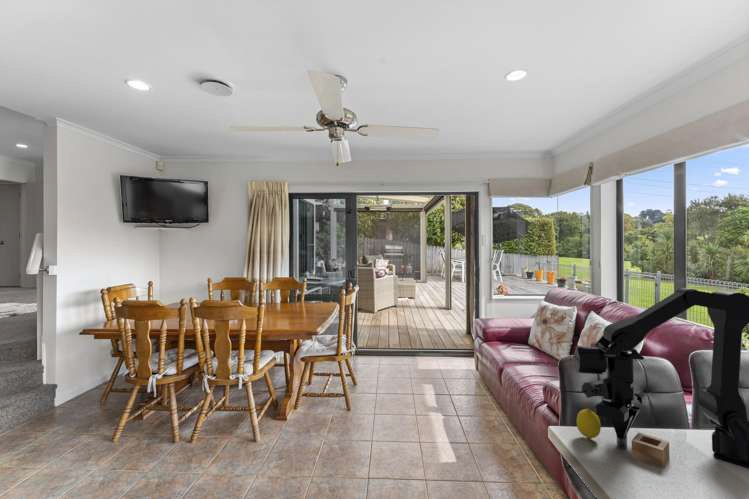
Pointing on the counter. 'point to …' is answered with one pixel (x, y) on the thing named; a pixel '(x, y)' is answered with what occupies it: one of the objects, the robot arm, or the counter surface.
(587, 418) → the lemon
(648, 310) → the robot arm
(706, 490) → the counter surface
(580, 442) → the counter surface
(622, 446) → the peg
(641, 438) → the block with square hole
